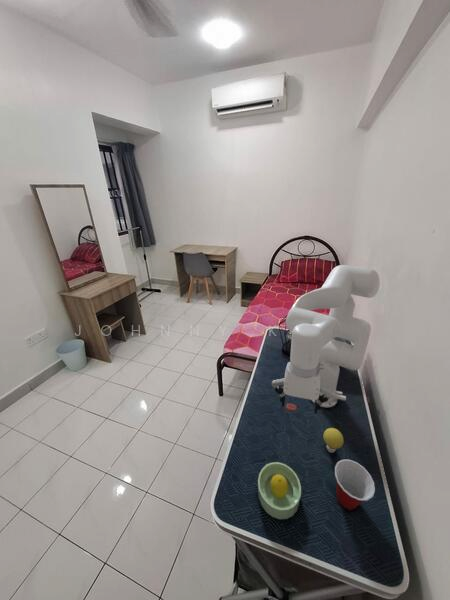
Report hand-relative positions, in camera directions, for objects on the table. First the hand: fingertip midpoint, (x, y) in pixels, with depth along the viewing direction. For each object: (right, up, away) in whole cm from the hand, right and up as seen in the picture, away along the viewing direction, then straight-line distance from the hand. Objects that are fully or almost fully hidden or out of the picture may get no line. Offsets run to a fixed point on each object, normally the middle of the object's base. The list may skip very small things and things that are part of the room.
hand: (299, 406), depth 75 cm
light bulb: (+16, -23, +15) cm, 32 cm away
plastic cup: (+16, -30, +1) cm, 34 cm away
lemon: (-6, -30, +3) cm, 30 cm away
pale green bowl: (-6, -30, +3) cm, 31 cm away
